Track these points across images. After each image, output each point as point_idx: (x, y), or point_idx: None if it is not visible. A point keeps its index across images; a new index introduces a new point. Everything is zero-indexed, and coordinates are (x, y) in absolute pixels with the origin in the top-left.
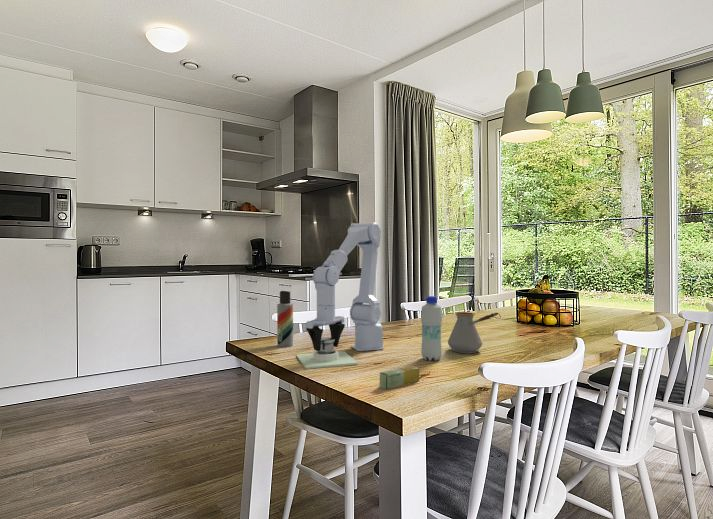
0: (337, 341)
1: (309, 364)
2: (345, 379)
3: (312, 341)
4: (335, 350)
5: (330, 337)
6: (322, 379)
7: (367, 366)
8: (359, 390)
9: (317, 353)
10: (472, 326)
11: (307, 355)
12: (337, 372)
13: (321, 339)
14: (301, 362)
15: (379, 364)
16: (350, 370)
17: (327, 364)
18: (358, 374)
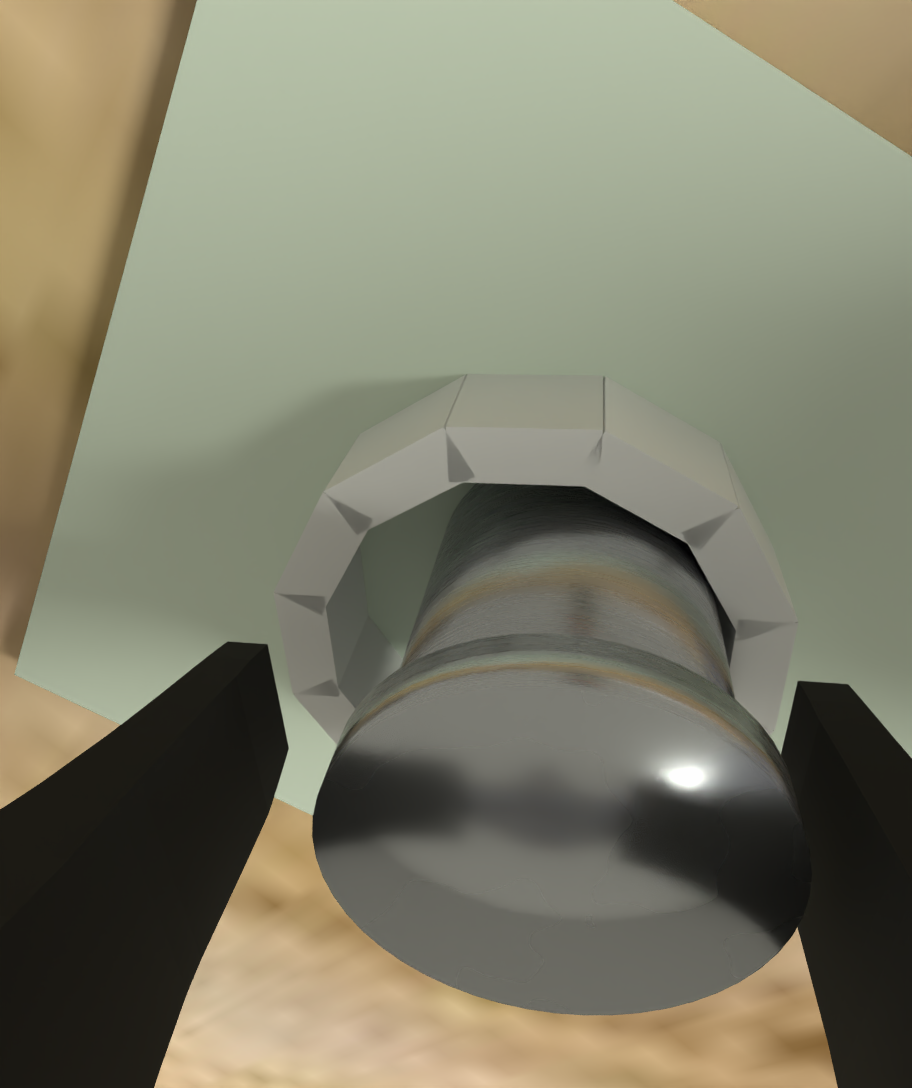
0: (801, 925)
1: (110, 633)
2: (197, 1043)
3: (85, 770)
4: (761, 709)
5: (799, 856)
6: None
7: (655, 1029)
8: None
9: (324, 615)
10: None
11: (437, 102)
12: (265, 933)
13: (397, 820)
14: (97, 404)
15: (812, 1075)
16: (411, 980)
17: (312, 788)
18: (374, 1059)
